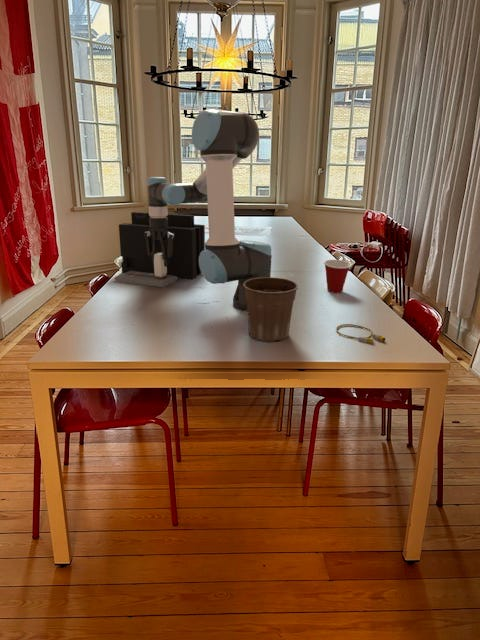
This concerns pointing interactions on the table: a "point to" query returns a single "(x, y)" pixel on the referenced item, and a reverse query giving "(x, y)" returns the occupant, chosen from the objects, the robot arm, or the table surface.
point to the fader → (158, 265)
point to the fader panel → (145, 279)
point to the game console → (184, 247)
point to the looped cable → (363, 339)
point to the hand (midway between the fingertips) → (160, 273)
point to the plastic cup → (336, 274)
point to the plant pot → (269, 307)
